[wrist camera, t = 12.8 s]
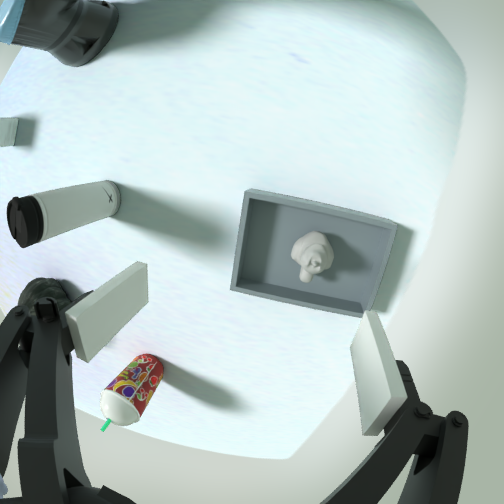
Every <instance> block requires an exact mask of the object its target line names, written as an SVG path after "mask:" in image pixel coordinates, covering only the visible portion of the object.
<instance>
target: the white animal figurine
mask: <svg viewBox="0 0 504 504" xmlns="http://www.w3.org/2000/svg"><path fill="white" fill-rule="evenodd" d="M291 257H292V259H293V260H295V261H296V262H297V263H298V264H299V265H301V271H300V276H299V277H300V280H301V281H302V282H305V283H309V282H311V281H312V279H313V276H314V274H317V273H321V272H322V271H323V270H324V269H329V268H330V267H331V265H332V262H333V259H334V253H333V249H332V247H331V245H330V243H329V241H328V239H327V237H326V235H325V234H324V233H322V232H319V231H312V232H309V233H307V234H306V235H304V236H303V237H301V238H299V239H298V240H297V241H296V242H295V244H294V246H293V249H292V252H291Z"/></svg>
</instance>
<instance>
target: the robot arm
mask: <svg viewBox="0 0 504 504" xmlns="http://www.w3.org/2000/svg"><path fill="white" fill-rule="evenodd" d="M117 22H118V10H117V8H116V7H115V6H114V5H112V4H110V3H109V2H106V1H100V0H4V2H3V3H2V5H1V7H0V42H3V43H7V44H9V45H10V44H14V45H20V46H25V47H30V48H35V49H40V50H45V51H48V52H49V53H51V54H52V55H53V56H54V57H55V58H57V59H58V60H59V61H60V62H61V63H63V64H65V65H68V66H72V67H77V66H81V65H83V64H85V63H87V62H88V61H90V60H91V59H92V58H94V57H95V56H96V55H97V54H98V53H99V52H100V51H101V50H102V49H103V47H104V46H105V45H106V43H107V42H108V41H109V39H110V38H111V36H112V34H113V32H114V30H115V28H116V25H117ZM147 303H148V278H147V264H146V263H142V262H138V261H137V262H135V263H134V264H132V265H131V266H129V267H128V268H126V269H125V270H123V271H122V272H121V273H119V274H118V275H116V276H115V277H113V278H112V279H110V280H109V281H108V282H106V283H105V284H103V285H102V286H100V287H99V288H98V289H96V290H95V291H93V290H92V291H89V292H87V293H84V294H83V295H81V296H80V297H79V298H78V299H76V300H74V302H72V303H70V304H69V305H67V306H66V307H65V308H63V309H62V310H61V311H59V310H58V306H57V301H56V300H55V299H54V298H52V297H42V298H40V299H38V300H37V301H35V303H34V304H33V305H34V309H35V313H36V316H33V315H30V311H29V308H28V307H27V306H24V305H18V306H15V307H14V308H12V309H11V310H10V312H9V313H8V314H7V316H6V317H5V319H4V320H3V322H2V323H1V325H0V504H136V503H134V502H133V501H132V500H130V499H129V498H127V497H125V496H123V495H121V494H119V493H117V492H115V491H113V490H111V489H109V488H107V487H106V486H104V485H103V487H102V488H101V489H100V488H95V487H92V486H91V483H90V481H89V479H88V477H87V475H86V473H85V470H84V467H83V463H82V457H81V452H80V446H79V440H78V434H77V428H76V419H75V410H74V398H73V382H72V356H71V353H70V352H71V351H72V350H73V349H75V352H76V355H77V357H78V358H80V359H81V360H83V361H85V362H87V363H88V362H89V361H90V360H91V359H92V358H93V357H94V356H95V355H96V354H97V353H98V352H99V351H100V350H101V349H102V348H103V347H104V346H105V345H106V344H107V343H108V342H109V341H110V340H111V339H112V338H113V337H114V336H115V335H116V334H117V333H118V332H119V331H120V330H121V329H122V328H123V327H124V326H125V325H126V324H127V323H128V322H129V321H130V320H131V319H132V318H133V317H134V316H135V315H136V314H137V313H138V312H139V311H140V310H141V309H142V308H143V307H144V306H145V305H146V304H147ZM18 344H20V346H19V348H18ZM350 350H351V356H352V362H353V368H354V374H355V380H356V387H357V393H358V401H359V407H360V417H361V425H362V434H363V435H366V436H368V435H369V436H378V435H379V433H380V432H381V431H382V430H383V429H384V433H385V436H384V437H383V438H382V439H381V440H380V441H379V442H378V443H377V445H376V446H375V448H374V449H373V450H372V451H371V453H370V454H369V455H368V456H367V457H366V458H365V459H364V461H363V462H362V463H361V464H360V465H359V466H358V467H357V468H356V469H355V470H354V471H353V472H352V473H351V475H350V476H349V477H348V478H347V479H346V480H345V481H344V482H343V483H342V484H341V485H340V486H339V487H338V488H336V490H334V492H332V493H331V494H330V495H329V496H328V497H327V498H326V499H325V500H323V501H322V502H321V503H320V504H377V503H378V502H379V501H380V499H381V498H382V497H383V496H384V494H385V493H386V492H387V491H388V489H389V488H390V487H391V485H392V484H393V482H394V481H395V480H396V478H397V477H398V476H399V474H400V472H401V471H402V470H403V468H404V467H405V465H406V464H407V462H408V460H409V459H410V457H411V456H412V454H415V456H414V460H413V463H412V466H411V469H410V472H409V475H408V478H407V480H406V483H405V486H404V489H403V491H402V494H401V496H400V499H399V501H398V504H457V502H458V498H459V493H460V489H461V484H462V479H463V473H464V466H465V458H466V451H467V440H468V420H467V418H466V416H465V415H463V413H461V412H459V411H451V412H450V413H449V414H448V415H447V416H446V417H441V416H438V415H434V414H433V412H432V410H431V408H430V407H429V406H428V405H427V404H425V403H423V402H420V399H419V396H418V393H417V390H416V387H415V384H414V382H413V379H412V376H411V373H410V371H409V368H408V367H407V365H406V364H405V363H404V362H403V361H400V360H395V358H394V355H393V352H392V350H391V347H390V344H389V342H388V339H387V336H386V334H385V331H384V329H383V326H382V324H381V321H380V319H379V316H378V314H377V312H373V311H367V310H365V312H364V314H363V317H362V320H361V322H360V325H359V327H358V330H357V332H356V335H355V337H354V339H353V342H352V344H351V346H350ZM25 395H26V401H25V436H24V438H22V439H19V441H18V464H19V475H20V484H21V491H22V497H15V498H3V495H5V494H7V492H8V488H7V486H6V485H5V484H4V481H3V476H4V474H5V471H6V468H7V465H8V460H9V456H10V451H11V446H12V442H13V437H14V433H15V429H16V425H17V421H18V418H19V414H20V411H21V408H22V404H23V401H24V398H25Z"/></svg>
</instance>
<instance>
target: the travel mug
mask: <svg viewBox="0 0 504 504" xmlns="http://www.w3.org/2000/svg"><path fill="white" fill-rule="evenodd" d="M120 200H121V199H120V192H119V190H118V188H117V186H116V185H115V184H114V183H113V182H111V181H108V180H106V181H99V182H93V183H87V184H81V185H75V186H70V187H65V188H59V189H55V190H50V191H45V192H41V193H36V194H33V195H28V196H25V197H21V198H18V197H13V198H12V200H11V201H9V203H8V206H7V221H8V226H9V229H10V232H11V235H12V237H13V238H14V239H16V242H17V243H18V244H19V245H20V247H22V248H26V247H28V246H30V245H33V244H35V243H39V242H41V241H44V240H46V239H49V238H51V237H54V236H57V235H59V234H62V233H64V232H67V231H70V230H73V229H75V228H78V227H81V226H84V225H86V224H89V223H92V222H95V221H98V220H101V219H104V218H107V217H110V216H112V215H114V214H115V213H116V212H117V211H118V209H119V206H120Z"/></svg>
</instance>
